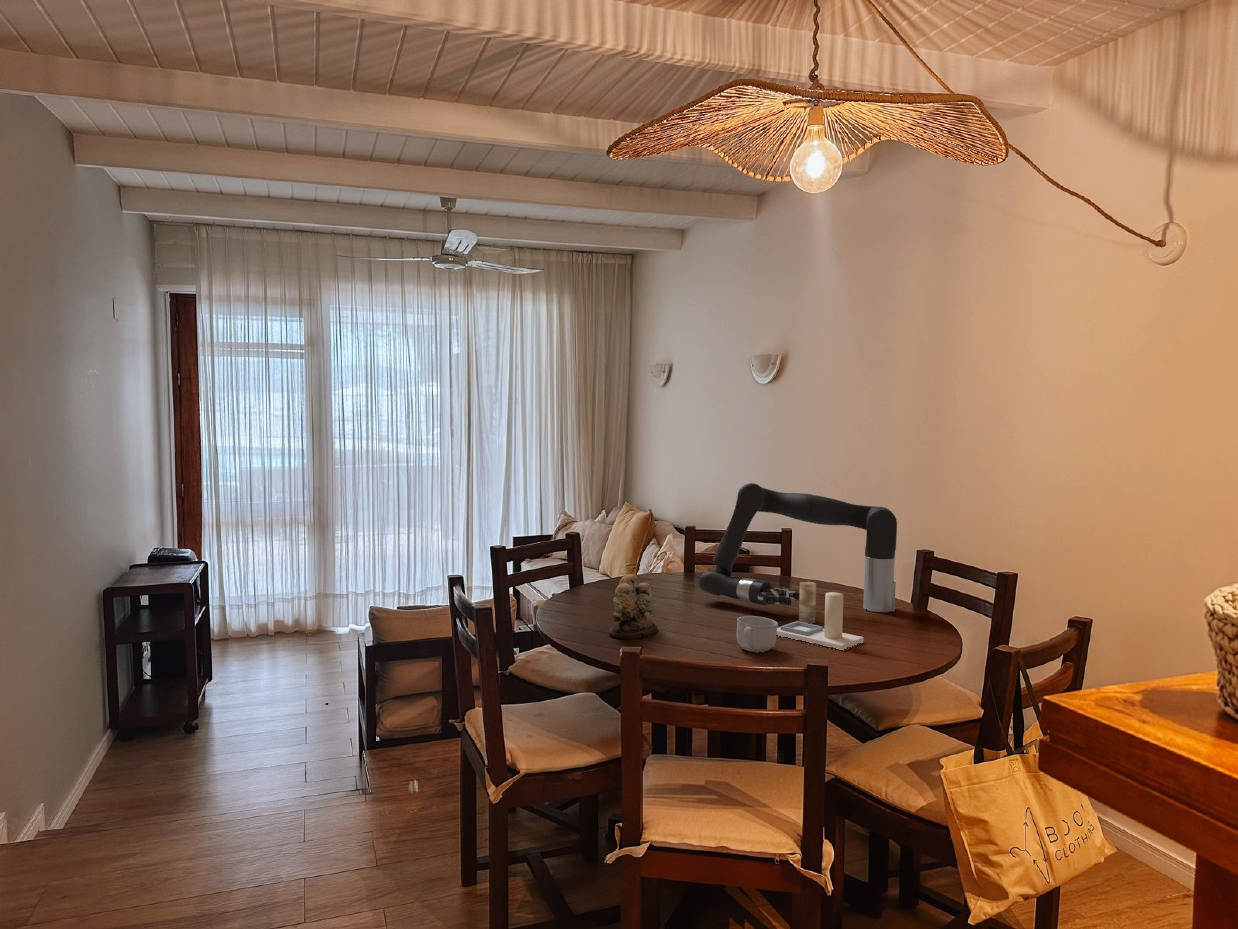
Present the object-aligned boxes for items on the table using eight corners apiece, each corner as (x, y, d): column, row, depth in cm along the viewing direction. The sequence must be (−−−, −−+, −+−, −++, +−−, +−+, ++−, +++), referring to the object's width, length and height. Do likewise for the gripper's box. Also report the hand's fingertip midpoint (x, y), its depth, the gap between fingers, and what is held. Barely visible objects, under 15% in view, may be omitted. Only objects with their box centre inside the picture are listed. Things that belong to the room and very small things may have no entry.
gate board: (771, 634, 236) (773, 588, 235) (794, 627, 245) (795, 582, 244) (841, 651, 221) (843, 601, 220) (863, 642, 230) (864, 594, 229)
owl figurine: (632, 644, 226) (632, 582, 225) (597, 637, 232) (597, 577, 231) (666, 629, 240) (667, 571, 239) (633, 623, 247) (633, 567, 246)
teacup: (749, 641, 229) (750, 613, 229) (784, 649, 222) (785, 619, 222) (722, 652, 218) (722, 622, 218) (758, 660, 211) (759, 630, 211)
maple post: (813, 620, 253) (814, 582, 252) (816, 624, 248) (817, 585, 248) (797, 620, 253) (798, 581, 253) (800, 624, 249) (801, 584, 248)
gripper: (741, 582, 259) (786, 591, 247) (767, 576, 269) (811, 584, 258) (741, 606, 259) (785, 615, 248) (766, 599, 269) (810, 608, 258)
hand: (798, 599), depth 253 cm, fingers open, 8 cm apart
